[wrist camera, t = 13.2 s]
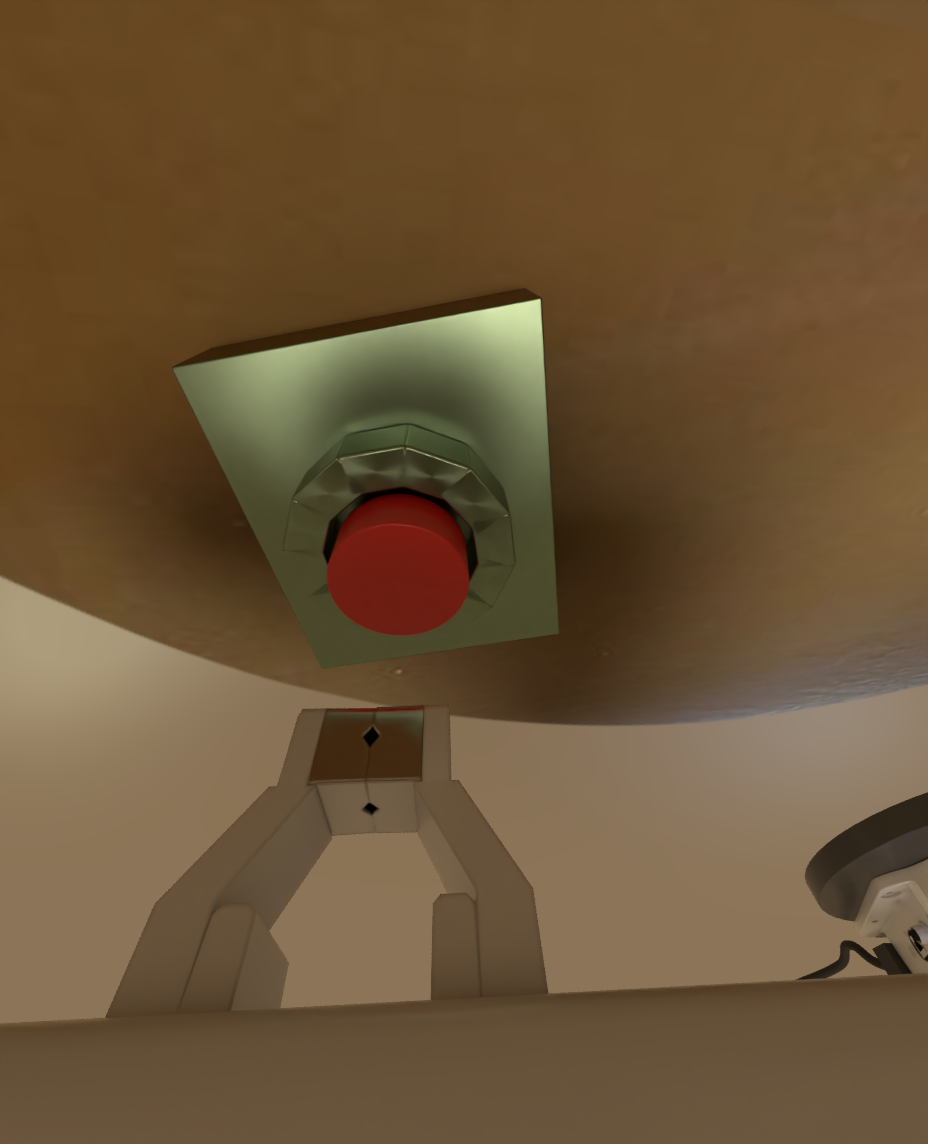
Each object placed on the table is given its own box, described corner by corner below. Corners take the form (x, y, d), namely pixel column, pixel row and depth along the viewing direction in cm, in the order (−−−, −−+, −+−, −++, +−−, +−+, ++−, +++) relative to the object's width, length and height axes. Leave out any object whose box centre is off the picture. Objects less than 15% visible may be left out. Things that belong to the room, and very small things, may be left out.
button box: (546, 592, 21) (569, 667, 17) (333, 625, 22) (312, 704, 18) (526, 288, 14) (556, 304, 10) (210, 347, 15) (134, 384, 11)
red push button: (475, 590, 15) (478, 626, 14) (358, 608, 16) (351, 645, 14) (454, 482, 13) (456, 511, 12) (318, 505, 13) (304, 536, 12)
